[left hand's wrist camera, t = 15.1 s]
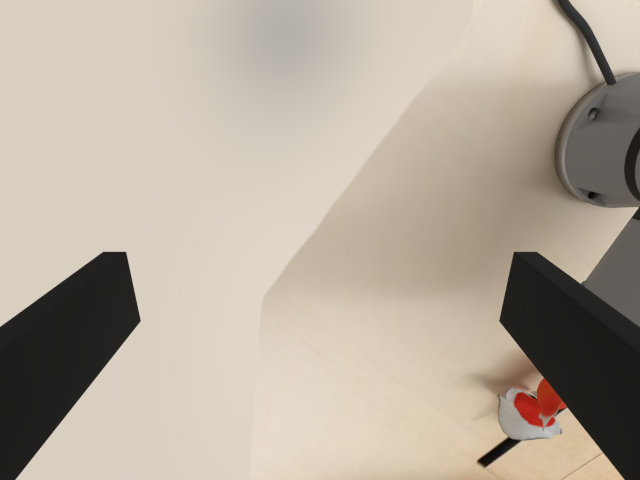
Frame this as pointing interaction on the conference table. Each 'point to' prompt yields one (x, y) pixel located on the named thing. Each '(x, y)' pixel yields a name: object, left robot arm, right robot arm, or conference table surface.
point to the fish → (530, 413)
